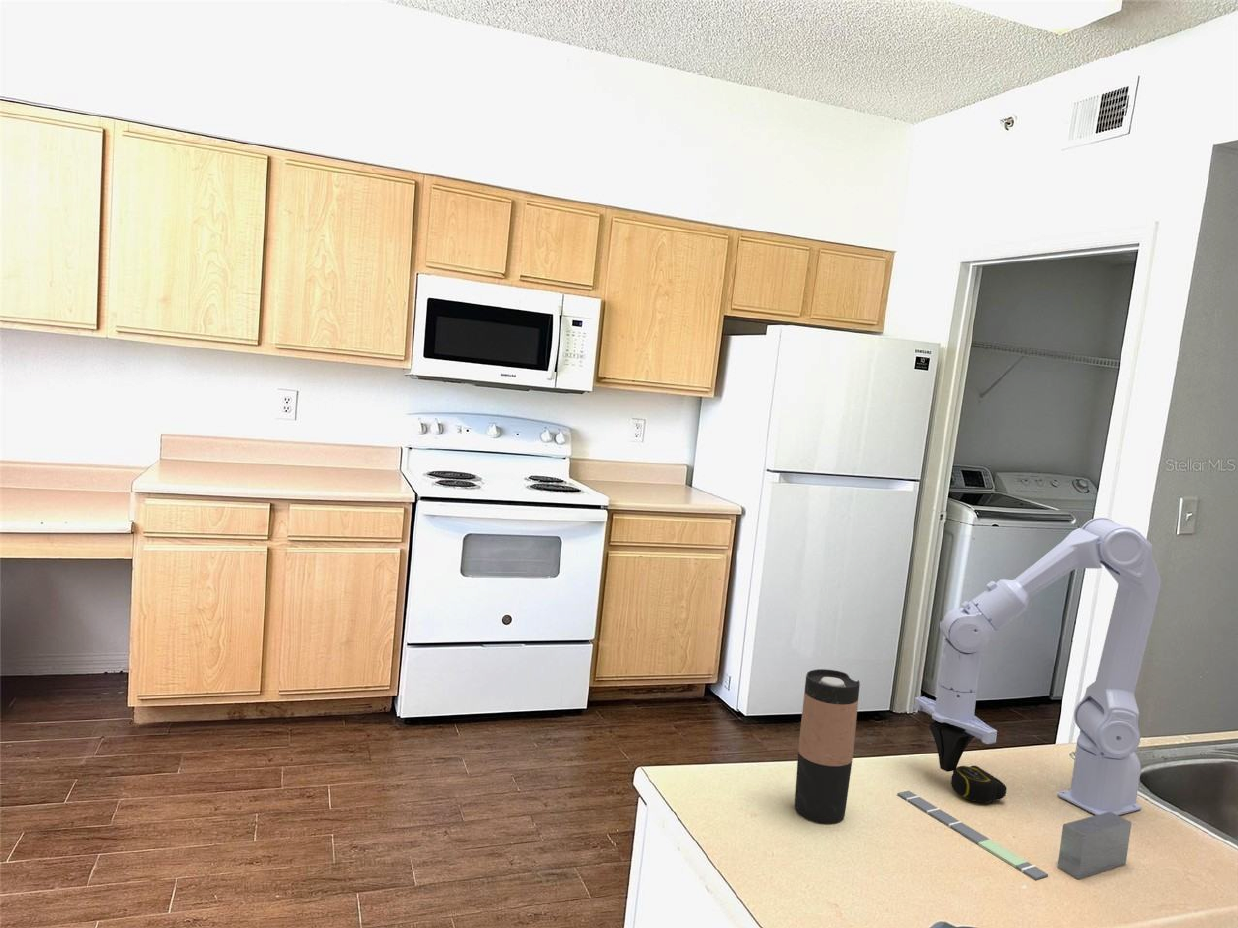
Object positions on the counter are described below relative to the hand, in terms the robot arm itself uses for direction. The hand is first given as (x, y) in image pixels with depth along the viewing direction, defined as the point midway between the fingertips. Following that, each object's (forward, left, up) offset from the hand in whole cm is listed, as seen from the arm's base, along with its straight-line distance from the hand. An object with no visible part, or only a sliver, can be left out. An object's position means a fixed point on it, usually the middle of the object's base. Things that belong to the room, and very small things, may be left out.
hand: (947, 769), depth 138 cm
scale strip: (+10, +12, -2) cm, 16 cm away
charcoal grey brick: (0, +25, -2) cm, 25 cm away
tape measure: (-2, +4, -3) cm, 5 cm away
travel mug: (+26, 0, -3) cm, 26 cm away
